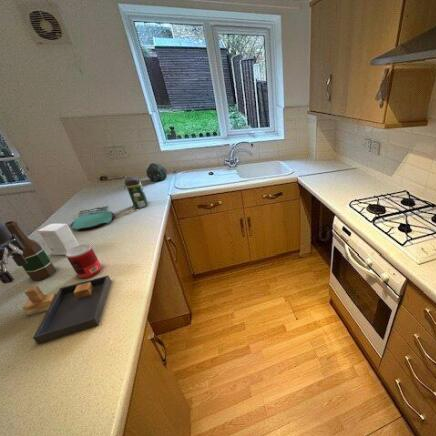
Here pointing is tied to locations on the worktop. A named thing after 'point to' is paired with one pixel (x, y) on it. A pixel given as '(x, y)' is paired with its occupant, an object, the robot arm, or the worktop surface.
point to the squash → (156, 172)
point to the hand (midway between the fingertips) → (16, 273)
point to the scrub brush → (37, 300)
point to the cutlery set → (92, 218)
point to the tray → (73, 311)
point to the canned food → (84, 261)
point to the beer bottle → (32, 254)
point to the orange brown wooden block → (83, 290)
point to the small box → (58, 238)
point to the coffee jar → (136, 192)
